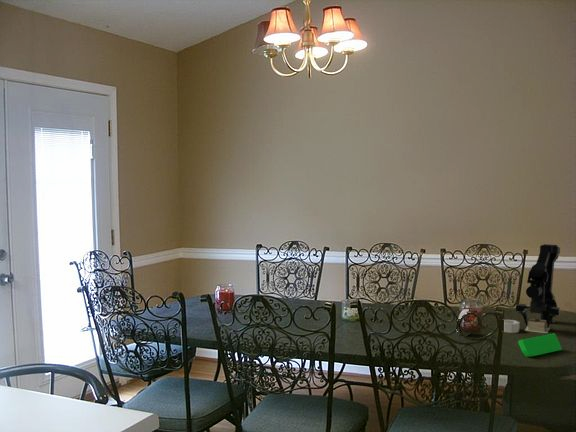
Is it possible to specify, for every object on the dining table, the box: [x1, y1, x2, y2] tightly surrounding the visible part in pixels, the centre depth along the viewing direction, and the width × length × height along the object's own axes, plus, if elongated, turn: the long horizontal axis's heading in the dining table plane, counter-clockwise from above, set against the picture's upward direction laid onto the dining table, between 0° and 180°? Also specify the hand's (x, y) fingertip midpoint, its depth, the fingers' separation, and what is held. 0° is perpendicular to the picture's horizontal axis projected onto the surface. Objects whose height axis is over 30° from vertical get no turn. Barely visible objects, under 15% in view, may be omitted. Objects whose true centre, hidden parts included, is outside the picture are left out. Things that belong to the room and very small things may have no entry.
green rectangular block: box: [517, 332, 563, 358], centre depth 239 cm, size 20×10×7 cm, turn 118°
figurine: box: [456, 308, 469, 333], centre depth 265 cm, size 7×8×12 cm
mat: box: [524, 326, 551, 334], centre depth 272 cm, size 10×10×1 cm
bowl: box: [503, 319, 520, 334], centre depth 271 cm, size 8×8×4 cm
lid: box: [528, 318, 547, 333], centre depth 272 cm, size 7×7×5 cm
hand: (537, 327), depth 272 cm, fingers open, 9 cm apart
